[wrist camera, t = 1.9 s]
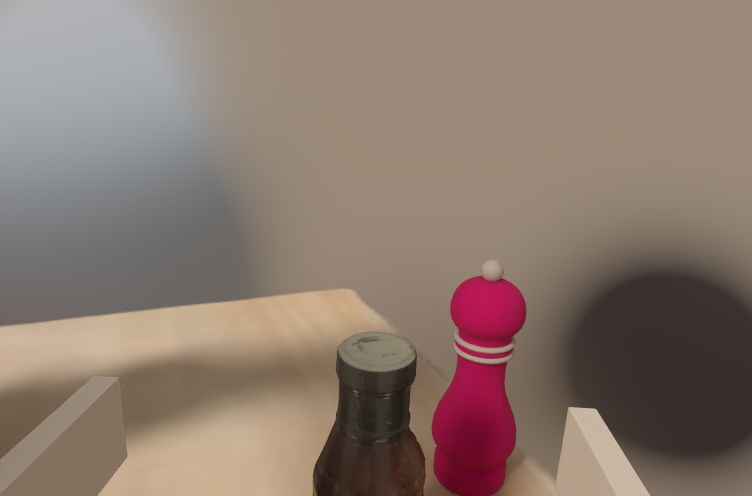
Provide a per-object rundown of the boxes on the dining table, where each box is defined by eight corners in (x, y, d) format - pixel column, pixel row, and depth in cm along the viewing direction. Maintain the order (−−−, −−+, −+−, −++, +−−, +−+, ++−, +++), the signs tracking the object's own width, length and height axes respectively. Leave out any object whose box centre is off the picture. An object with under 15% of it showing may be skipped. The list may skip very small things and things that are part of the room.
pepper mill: (499, 447, 50) (526, 249, 44) (519, 504, 43) (554, 277, 38) (424, 444, 50) (442, 245, 44) (432, 501, 43) (454, 273, 37)
